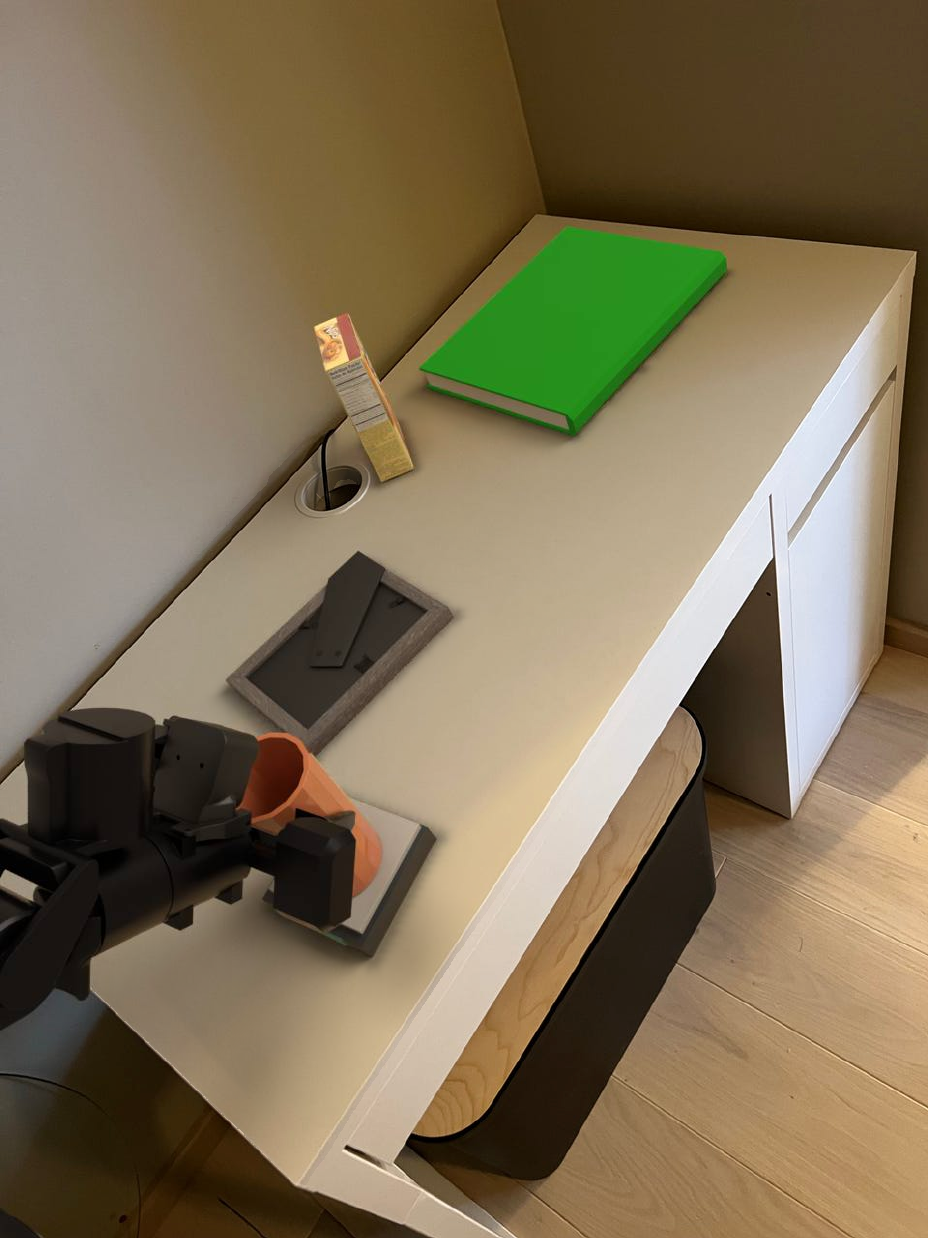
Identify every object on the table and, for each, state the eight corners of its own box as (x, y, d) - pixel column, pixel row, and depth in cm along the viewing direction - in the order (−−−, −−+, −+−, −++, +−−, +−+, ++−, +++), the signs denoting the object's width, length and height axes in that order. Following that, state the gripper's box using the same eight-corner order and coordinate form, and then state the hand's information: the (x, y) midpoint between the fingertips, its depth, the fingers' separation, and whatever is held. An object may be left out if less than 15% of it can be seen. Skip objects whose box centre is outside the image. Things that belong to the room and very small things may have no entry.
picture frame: (365, 563, 97) (233, 689, 92) (358, 550, 96) (223, 677, 91) (453, 617, 89) (313, 758, 84) (446, 603, 88) (303, 746, 82)
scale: (371, 959, 71) (357, 947, 69) (271, 911, 76) (256, 898, 74) (436, 838, 75) (425, 823, 73) (338, 800, 80) (325, 785, 78)
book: (427, 388, 112) (418, 367, 110) (572, 247, 121) (566, 226, 119) (577, 437, 99) (571, 415, 97) (728, 275, 108) (725, 251, 106)
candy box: (367, 438, 110) (310, 326, 99) (401, 423, 110) (347, 309, 99) (381, 484, 104) (322, 371, 93) (417, 468, 104) (362, 354, 93)
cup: (302, 914, 72) (214, 835, 62) (299, 834, 76) (216, 750, 67) (386, 888, 71) (310, 805, 61) (378, 809, 75) (306, 720, 66)
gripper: (265, 790, 50) (430, 726, 63) (38, 711, 59) (223, 669, 73) (255, 985, 52) (417, 883, 65) (38, 879, 61) (218, 808, 75)
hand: (313, 803), depth 69 cm, fingers closed on cup, 7 cm apart
